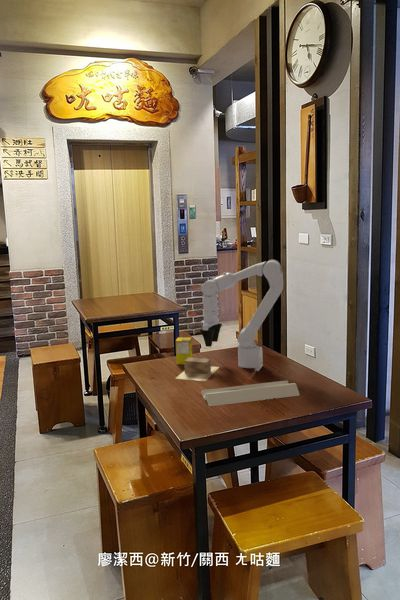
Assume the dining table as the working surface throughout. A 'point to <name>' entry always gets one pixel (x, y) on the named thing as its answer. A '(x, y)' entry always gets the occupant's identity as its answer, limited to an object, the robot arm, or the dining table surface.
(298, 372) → the dining table surface
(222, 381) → the dining table surface
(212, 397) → the crown molding
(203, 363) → the block
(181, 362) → the supplement box
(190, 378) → the birch board
